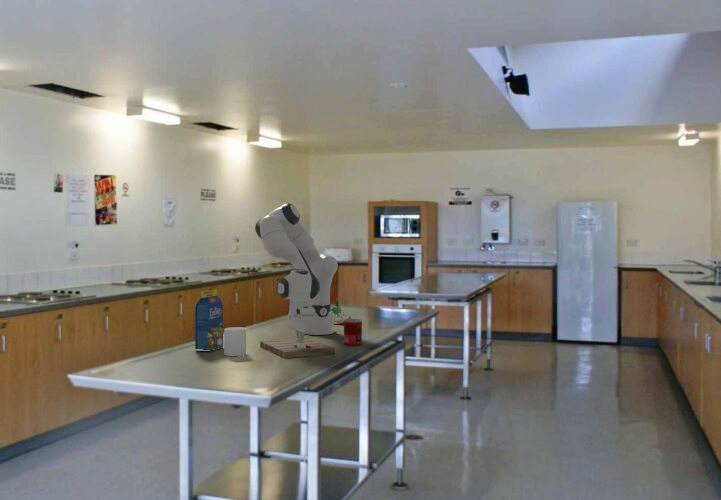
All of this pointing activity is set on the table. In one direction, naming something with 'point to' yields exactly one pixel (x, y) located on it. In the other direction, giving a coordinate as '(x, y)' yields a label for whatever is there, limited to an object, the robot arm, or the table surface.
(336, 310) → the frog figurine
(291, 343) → the board
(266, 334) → the table surface
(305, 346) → the ball
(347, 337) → the canned food
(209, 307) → the blue food package
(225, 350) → the mug
